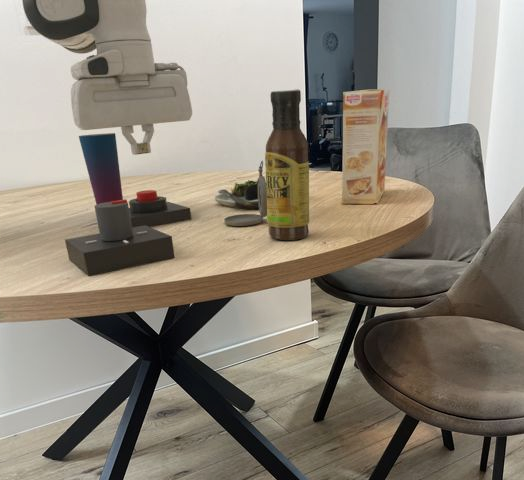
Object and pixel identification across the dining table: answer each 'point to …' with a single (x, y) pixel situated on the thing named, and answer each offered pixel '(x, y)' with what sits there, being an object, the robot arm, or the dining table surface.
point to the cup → (102, 166)
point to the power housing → (157, 212)
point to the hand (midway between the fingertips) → (141, 153)
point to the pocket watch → (262, 203)
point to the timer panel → (119, 250)
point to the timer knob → (114, 220)
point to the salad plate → (240, 196)
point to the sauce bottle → (287, 170)
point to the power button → (146, 195)
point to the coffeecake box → (364, 145)
